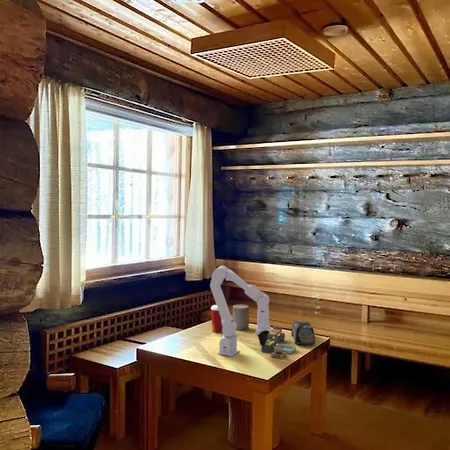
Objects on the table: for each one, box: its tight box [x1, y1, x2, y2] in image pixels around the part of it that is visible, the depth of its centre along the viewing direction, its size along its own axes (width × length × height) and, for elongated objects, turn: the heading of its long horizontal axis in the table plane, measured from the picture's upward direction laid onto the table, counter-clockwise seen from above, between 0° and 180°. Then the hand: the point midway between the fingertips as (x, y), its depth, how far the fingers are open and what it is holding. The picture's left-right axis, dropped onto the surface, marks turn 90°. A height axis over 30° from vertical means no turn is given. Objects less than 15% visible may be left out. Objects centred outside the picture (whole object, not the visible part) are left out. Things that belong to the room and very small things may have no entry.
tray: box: [274, 343, 297, 356], centre depth 256 cm, size 9×9×2 cm
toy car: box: [290, 320, 316, 346], centre depth 276 cm, size 11×25×10 cm, turn 179°
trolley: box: [266, 325, 286, 346], centre depth 272 cm, size 12×9×7 cm
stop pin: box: [276, 343, 282, 355], centre depth 247 cm, size 2×2×6 cm
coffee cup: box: [210, 304, 223, 334], centre depth 291 cm, size 8×8×15 cm
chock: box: [261, 340, 275, 354], centre depth 256 cm, size 7×4×5 cm, turn 152°
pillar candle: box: [232, 303, 250, 331], centre depth 299 cm, size 10×10×15 cm
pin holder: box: [270, 350, 287, 360], centre depth 247 cm, size 6×6×2 cm
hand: (262, 345), depth 249 cm, fingers closed
